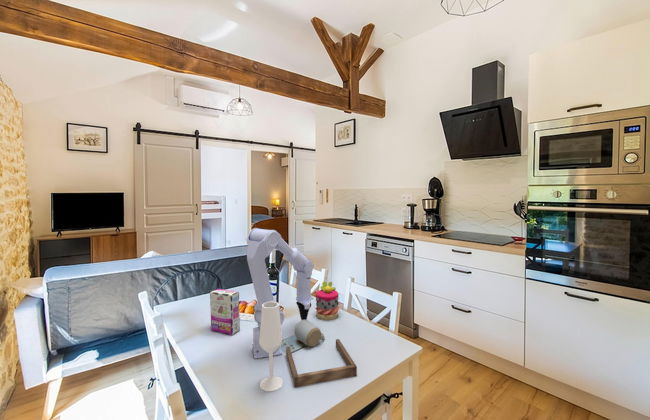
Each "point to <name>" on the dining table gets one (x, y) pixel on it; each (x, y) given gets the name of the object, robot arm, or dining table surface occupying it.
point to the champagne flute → (270, 341)
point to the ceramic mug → (308, 333)
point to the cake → (327, 302)
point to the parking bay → (323, 374)
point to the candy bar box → (225, 311)
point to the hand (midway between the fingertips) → (303, 319)
